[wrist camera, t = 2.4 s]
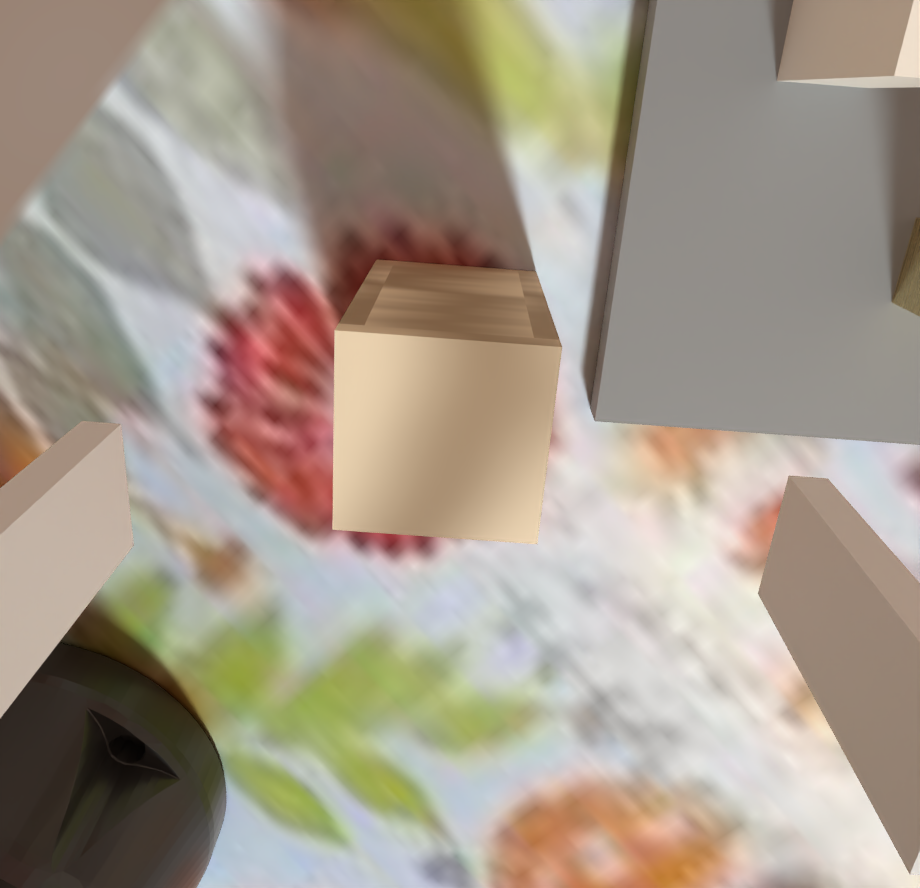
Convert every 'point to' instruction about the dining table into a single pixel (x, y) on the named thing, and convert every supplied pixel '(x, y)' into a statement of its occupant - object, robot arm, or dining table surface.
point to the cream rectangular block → (853, 43)
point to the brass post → (910, 275)
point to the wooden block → (444, 403)
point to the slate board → (760, 240)
